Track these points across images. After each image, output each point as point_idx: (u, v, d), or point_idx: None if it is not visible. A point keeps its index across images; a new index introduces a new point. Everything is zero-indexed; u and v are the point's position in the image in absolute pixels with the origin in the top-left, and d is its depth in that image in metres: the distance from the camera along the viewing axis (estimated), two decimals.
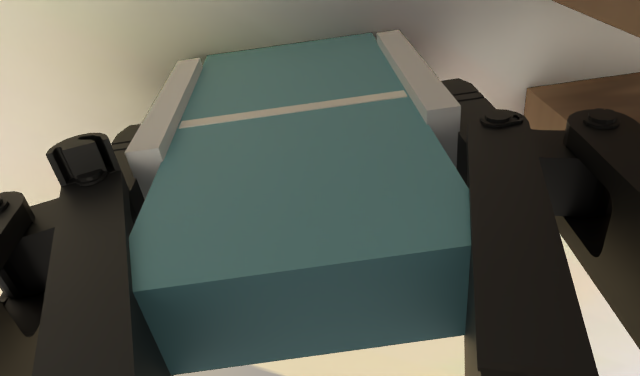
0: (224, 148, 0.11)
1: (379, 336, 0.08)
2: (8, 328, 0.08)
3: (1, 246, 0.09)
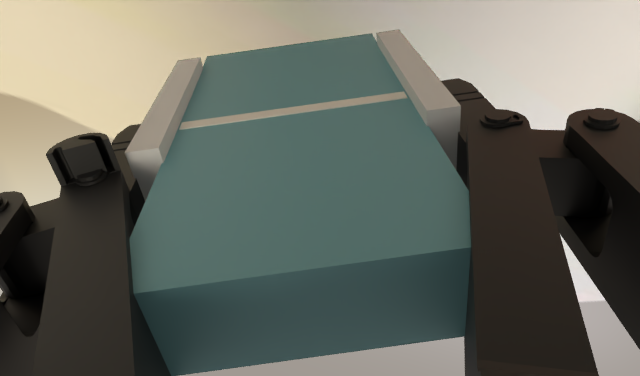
0: (224, 150, 0.11)
1: (378, 337, 0.08)
2: (7, 328, 0.08)
3: (1, 246, 0.09)
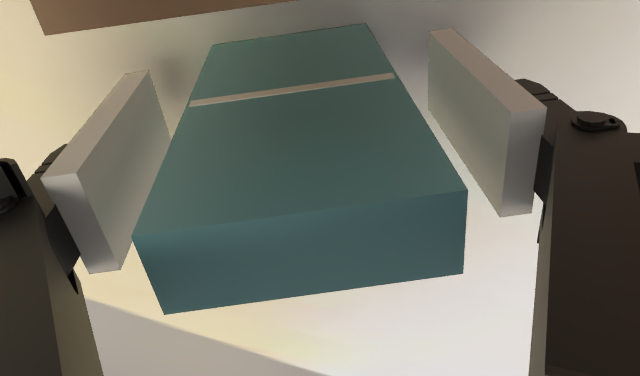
0: (230, 122, 0.12)
1: (365, 276, 0.09)
2: None
3: None
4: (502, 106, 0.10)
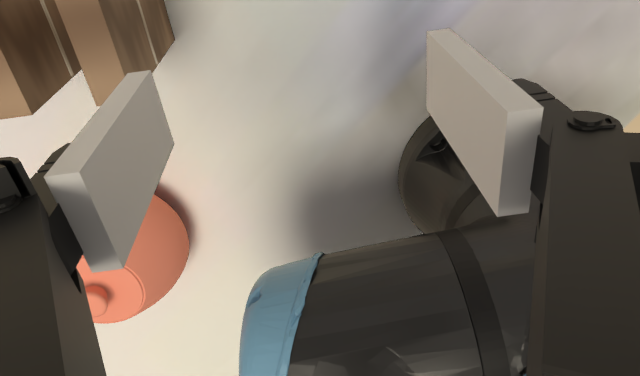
0: None
1: None
2: None
3: None
4: (499, 106, 0.10)
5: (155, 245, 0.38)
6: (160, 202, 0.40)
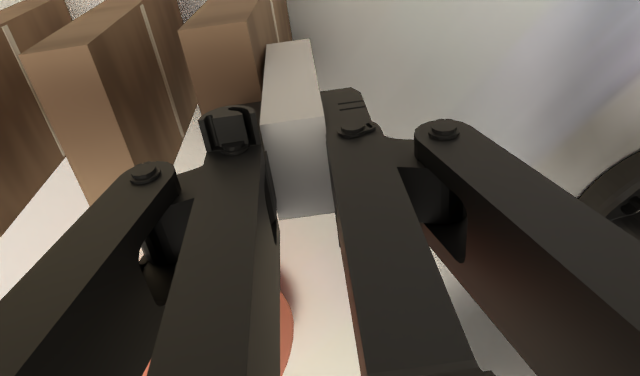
0: None
1: None
2: (143, 296, 0.09)
3: (148, 216, 0.09)
4: (291, 114, 0.11)
5: None
6: None
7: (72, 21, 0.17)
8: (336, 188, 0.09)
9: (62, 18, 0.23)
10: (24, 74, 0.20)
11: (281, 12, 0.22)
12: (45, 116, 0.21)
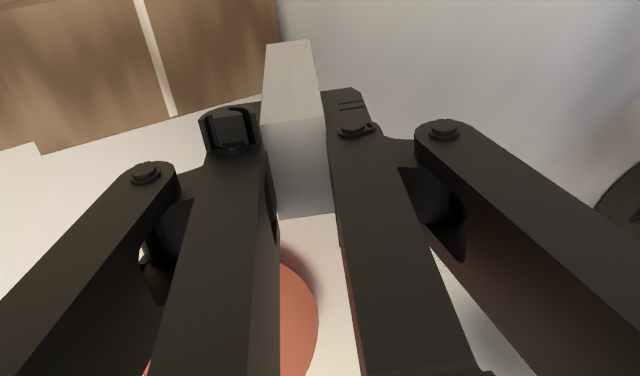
0: None
1: None
2: (143, 296, 0.09)
3: (148, 216, 0.09)
4: (291, 115, 0.11)
5: (295, 336, 0.29)
6: (292, 275, 0.31)
7: None
8: (336, 188, 0.09)
9: None
10: None
11: (214, 14, 0.22)
12: None
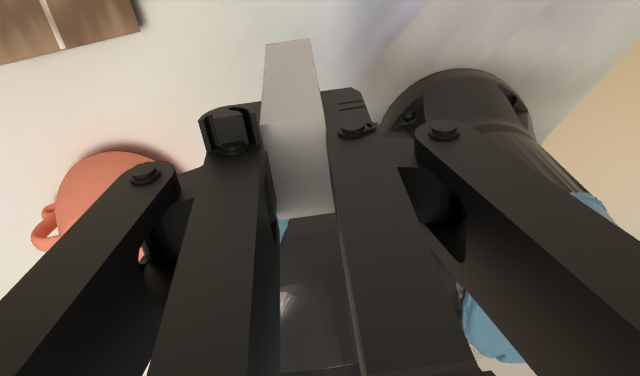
0: None
1: None
2: (143, 296, 0.09)
3: (148, 216, 0.09)
4: (291, 114, 0.11)
5: None
6: None
7: None
8: (336, 188, 0.09)
9: None
10: None
11: None
12: None
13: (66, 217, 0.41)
